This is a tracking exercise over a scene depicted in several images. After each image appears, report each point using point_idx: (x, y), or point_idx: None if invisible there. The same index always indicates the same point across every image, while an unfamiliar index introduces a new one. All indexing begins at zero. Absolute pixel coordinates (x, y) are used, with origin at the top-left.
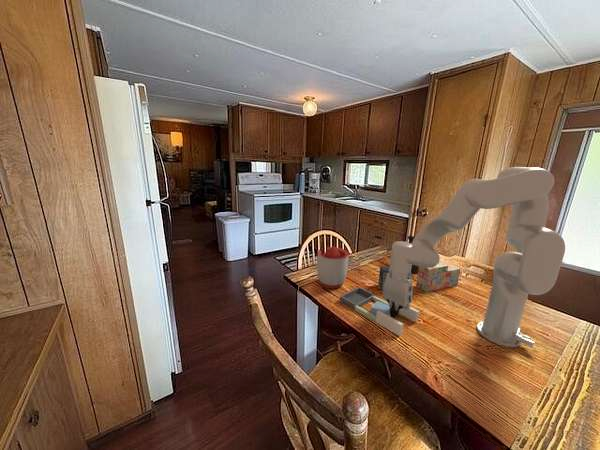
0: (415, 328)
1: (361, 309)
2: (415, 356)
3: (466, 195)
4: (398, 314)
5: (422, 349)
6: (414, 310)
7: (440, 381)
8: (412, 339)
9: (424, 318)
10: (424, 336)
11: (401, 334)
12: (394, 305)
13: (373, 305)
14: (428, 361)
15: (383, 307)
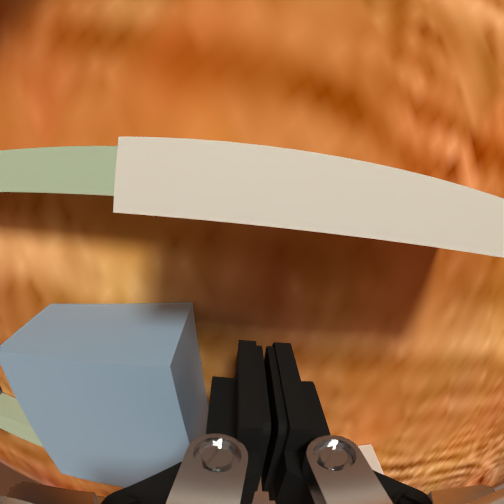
0: (448, 318)
1: (33, 439)
2: (437, 480)
3: None
4: (314, 394)
5: (468, 436)
6: (500, 248)
7: (489, 477)
8: (431, 426)
9: (470, 105)
10: (491, 348)
11: (370, 446)
12: (250, 484)
13: (49, 446)
14: (477, 459)
15: (122, 438)
